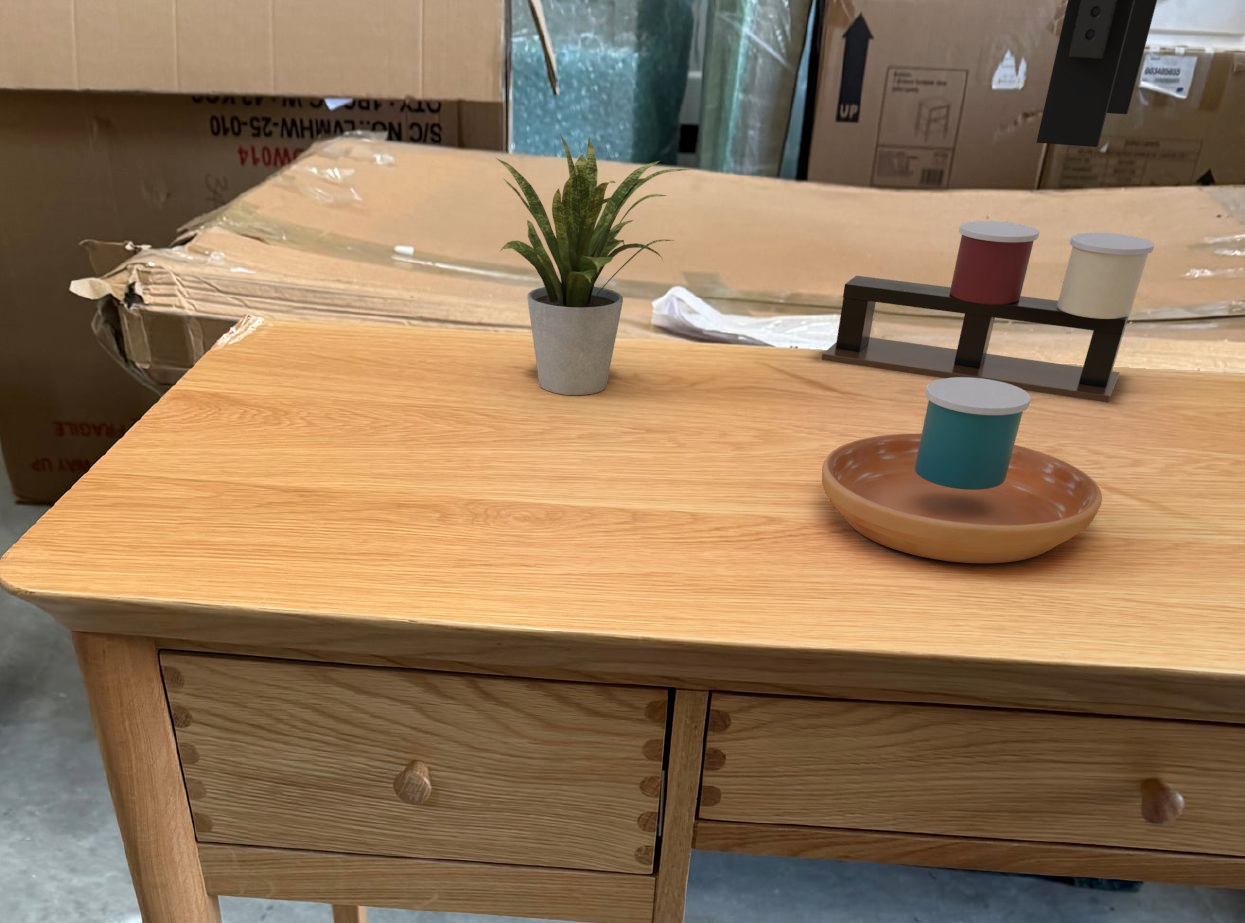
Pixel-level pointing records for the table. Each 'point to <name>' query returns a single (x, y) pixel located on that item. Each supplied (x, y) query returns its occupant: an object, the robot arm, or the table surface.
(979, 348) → the stand
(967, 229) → the burgundy pod
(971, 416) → the teal pod
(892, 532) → the saucer
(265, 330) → the table surface
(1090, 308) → the cup
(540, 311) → the house plant
